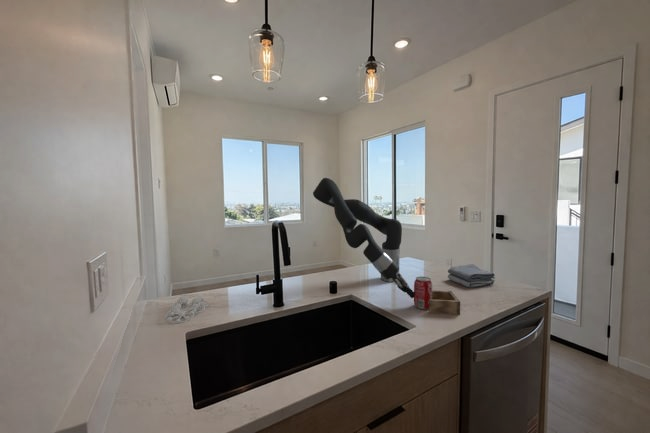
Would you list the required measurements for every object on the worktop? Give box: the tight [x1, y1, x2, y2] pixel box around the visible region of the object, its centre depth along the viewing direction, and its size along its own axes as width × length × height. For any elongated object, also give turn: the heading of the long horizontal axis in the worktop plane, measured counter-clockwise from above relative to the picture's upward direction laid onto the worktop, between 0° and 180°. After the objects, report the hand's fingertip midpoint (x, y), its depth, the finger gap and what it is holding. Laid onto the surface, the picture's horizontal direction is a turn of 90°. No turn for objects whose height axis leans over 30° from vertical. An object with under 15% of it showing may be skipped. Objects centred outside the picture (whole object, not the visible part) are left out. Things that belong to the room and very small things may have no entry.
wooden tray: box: [428, 289, 461, 315], centre depth 113 cm, size 11×12×5 cm
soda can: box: [413, 275, 433, 311], centre depth 113 cm, size 7×7×12 cm
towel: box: [447, 263, 496, 288], centre depth 145 cm, size 15×18×8 cm
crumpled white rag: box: [163, 295, 210, 324], centre depth 110 cm, size 19×14×4 cm
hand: (413, 296), depth 114 cm, fingers closed
